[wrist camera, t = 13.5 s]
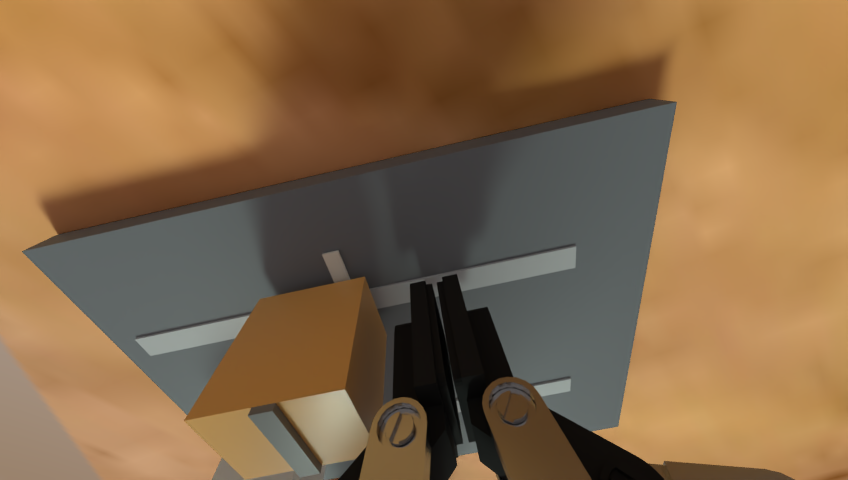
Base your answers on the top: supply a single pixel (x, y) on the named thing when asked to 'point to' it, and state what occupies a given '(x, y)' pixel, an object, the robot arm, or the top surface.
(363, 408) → the fader orange
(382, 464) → the robot arm
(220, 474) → the fader white
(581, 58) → the top surface
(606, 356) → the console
